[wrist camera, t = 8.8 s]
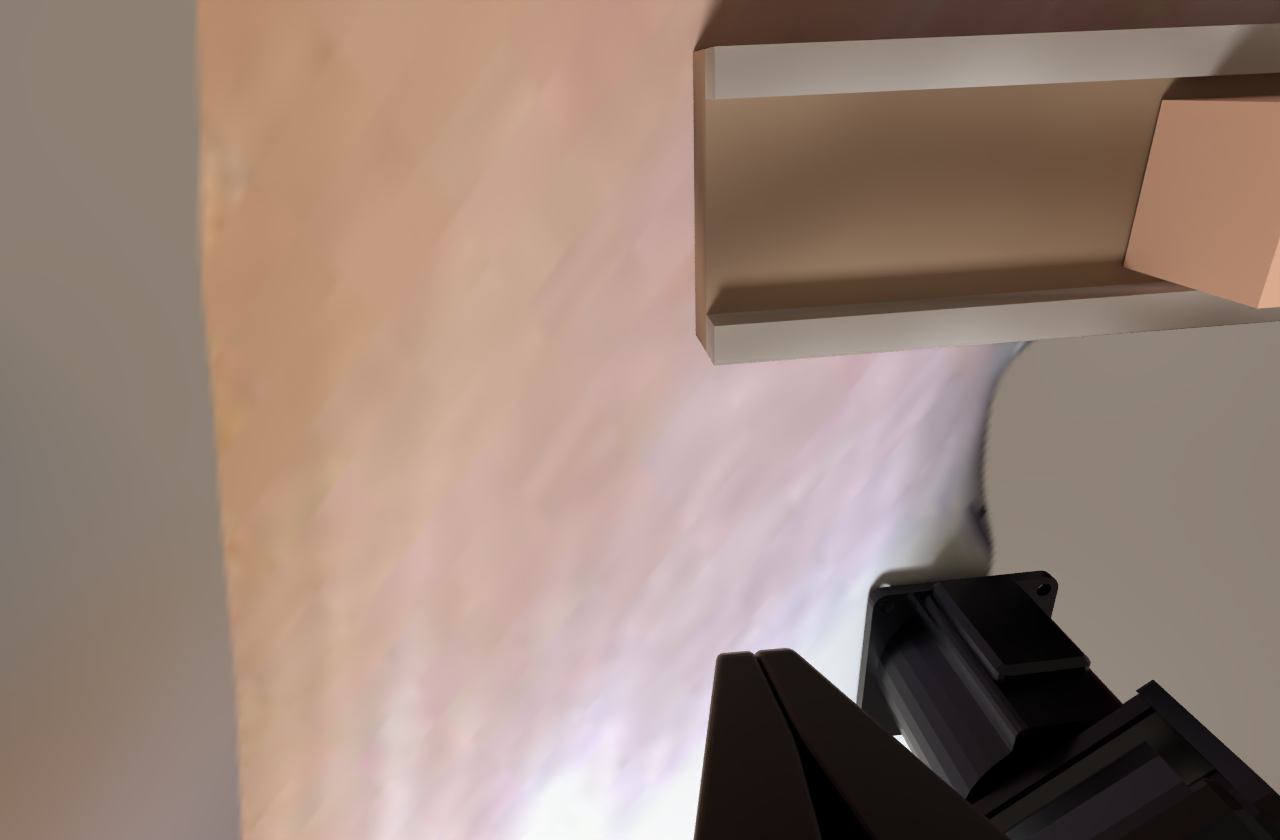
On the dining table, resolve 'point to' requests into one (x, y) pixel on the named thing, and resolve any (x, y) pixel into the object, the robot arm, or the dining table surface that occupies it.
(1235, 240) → the block
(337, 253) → the dining table surface
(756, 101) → the track
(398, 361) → the dining table surface
